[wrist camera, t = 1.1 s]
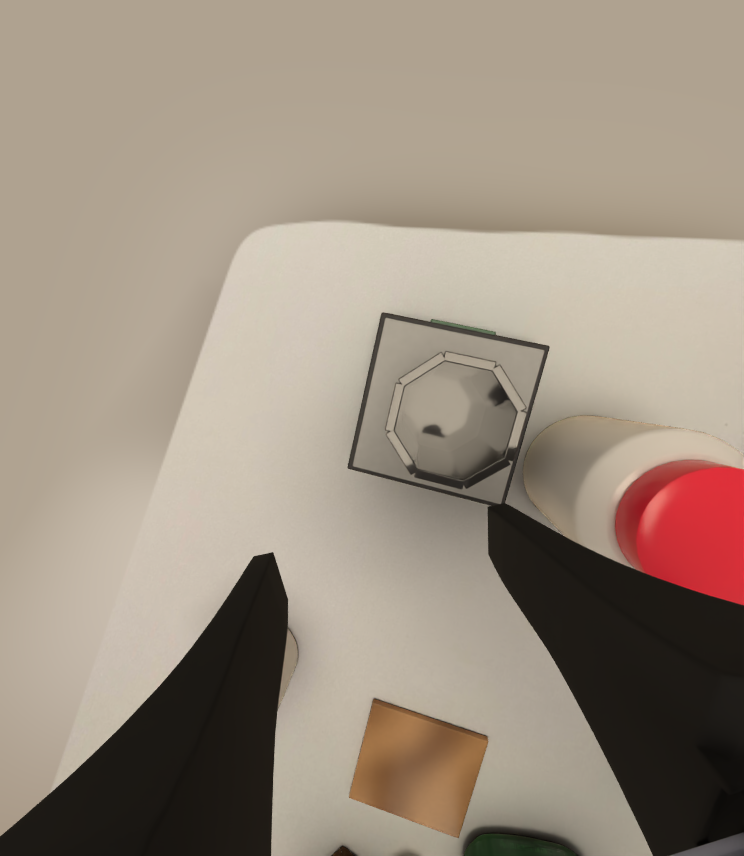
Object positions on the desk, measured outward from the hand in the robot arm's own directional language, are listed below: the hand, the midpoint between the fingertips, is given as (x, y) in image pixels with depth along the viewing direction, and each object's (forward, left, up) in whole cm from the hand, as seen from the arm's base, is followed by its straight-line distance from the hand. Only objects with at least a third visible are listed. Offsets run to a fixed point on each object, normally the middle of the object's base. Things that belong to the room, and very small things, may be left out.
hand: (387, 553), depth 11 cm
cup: (-1, -4, -10) cm, 11 cm away
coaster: (-6, +24, -14) cm, 28 cm away
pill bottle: (-12, -2, -14) cm, 19 cm away
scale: (-1, -4, -14) cm, 15 cm away
